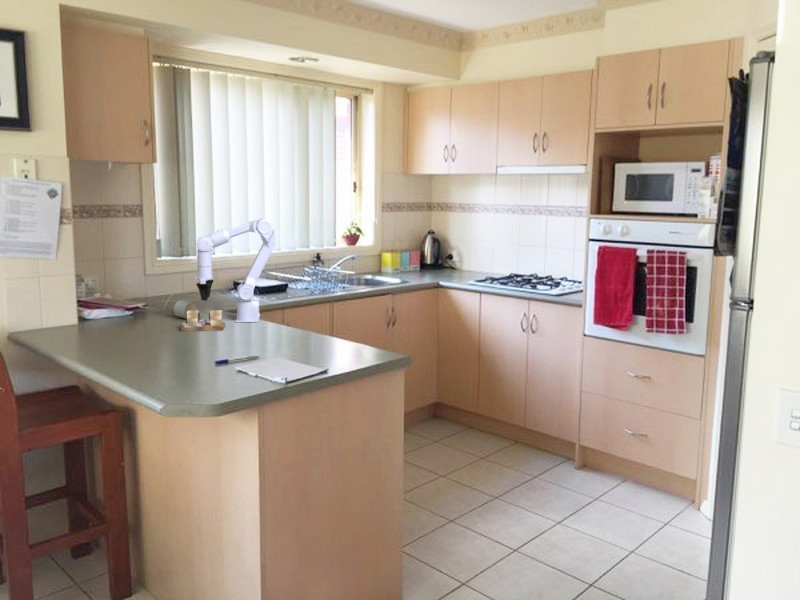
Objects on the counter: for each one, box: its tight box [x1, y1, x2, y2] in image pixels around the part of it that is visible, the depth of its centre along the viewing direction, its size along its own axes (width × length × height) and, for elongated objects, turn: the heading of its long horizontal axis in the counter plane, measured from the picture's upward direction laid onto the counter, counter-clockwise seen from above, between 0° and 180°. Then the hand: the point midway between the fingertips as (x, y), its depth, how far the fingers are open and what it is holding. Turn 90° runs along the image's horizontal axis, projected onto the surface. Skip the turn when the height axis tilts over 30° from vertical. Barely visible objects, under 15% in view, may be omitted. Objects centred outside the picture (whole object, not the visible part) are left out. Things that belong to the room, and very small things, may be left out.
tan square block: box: [186, 309, 201, 324], centre depth 271 cm, size 5×4×6 cm
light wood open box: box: [180, 309, 226, 332], centre depth 271 cm, size 16×9×7 cm, turn 99°
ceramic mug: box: [173, 299, 202, 320], centre depth 293 cm, size 11×8×8 cm
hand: (205, 298), depth 283 cm, fingers open, 7 cm apart
